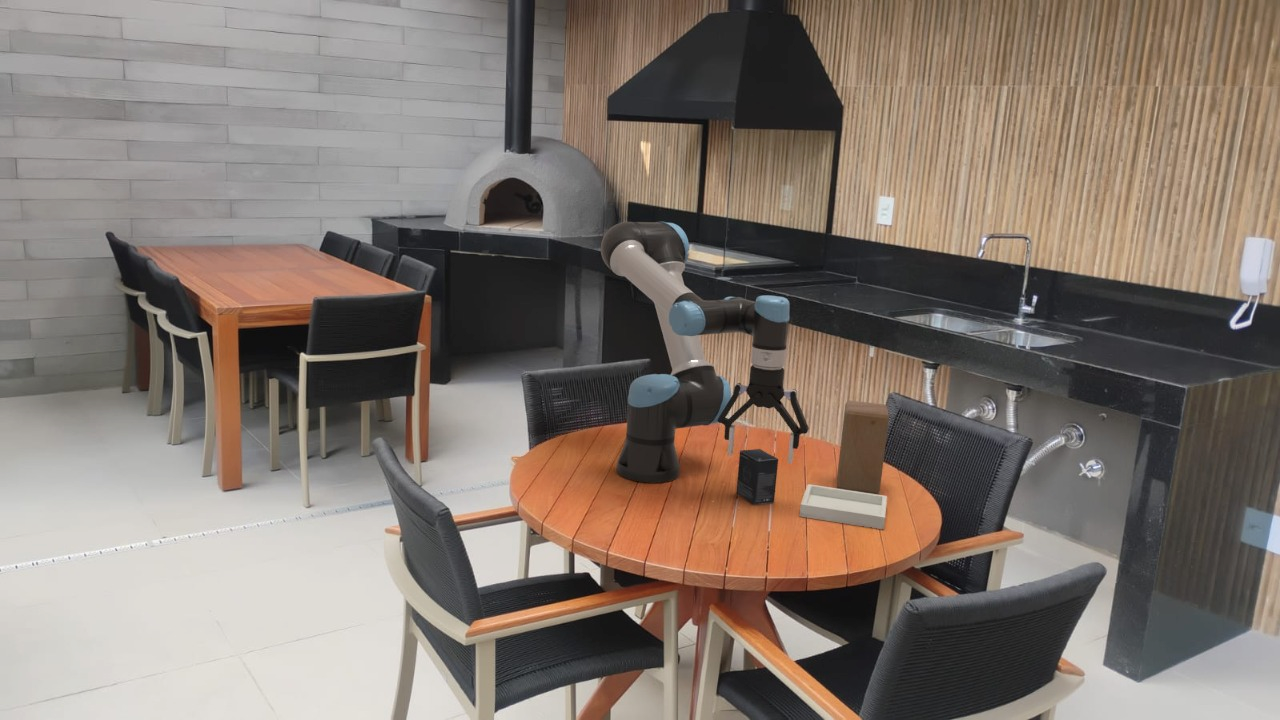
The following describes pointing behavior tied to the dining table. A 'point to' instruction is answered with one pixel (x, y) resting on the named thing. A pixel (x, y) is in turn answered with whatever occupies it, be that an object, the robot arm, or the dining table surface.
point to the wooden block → (862, 447)
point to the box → (757, 476)
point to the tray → (844, 506)
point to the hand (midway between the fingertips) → (759, 457)
